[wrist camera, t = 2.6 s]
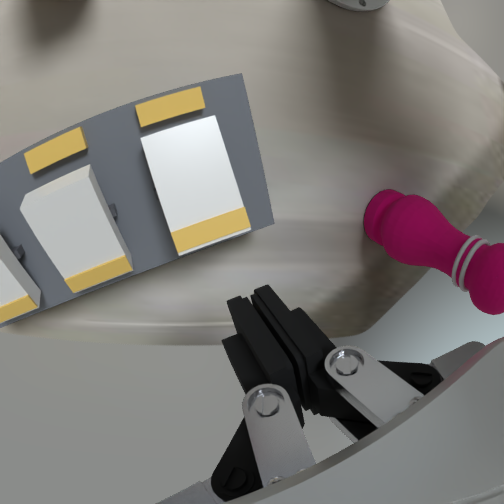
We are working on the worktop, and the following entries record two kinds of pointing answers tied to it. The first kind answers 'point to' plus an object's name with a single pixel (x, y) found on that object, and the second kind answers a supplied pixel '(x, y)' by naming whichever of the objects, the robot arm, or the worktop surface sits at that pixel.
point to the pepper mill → (437, 246)
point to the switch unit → (129, 177)
